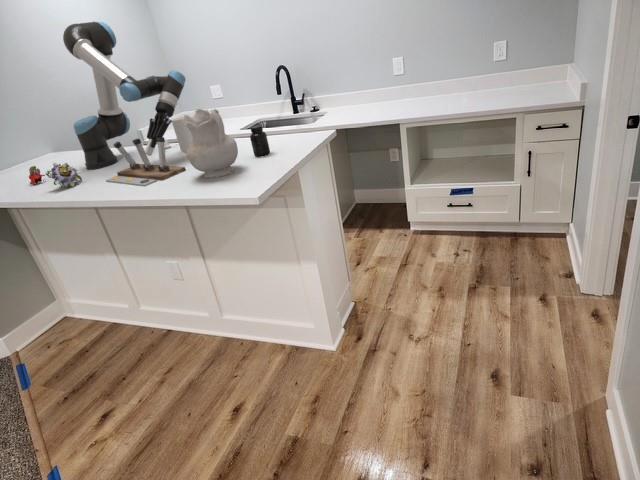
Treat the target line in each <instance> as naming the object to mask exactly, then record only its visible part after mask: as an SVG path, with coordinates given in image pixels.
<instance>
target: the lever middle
mask: <svg viewBox="0 0 640 480" xmlns="http://www.w3.org/2000/svg"><path fill="white" fill-rule="evenodd" d="M132 143H133V145H135V148H136V150H137V152H138V154H139V156H140V158H141V161H142V162H143V163H142V164H144V165H145V168H146V169H149V167H148V166H149V165H152V163H151V162H150V160H149V157H148V155H147V154H146V153H145V149H144V147H143V144H142V141H141V139H140V138H135V139H132Z"/></svg>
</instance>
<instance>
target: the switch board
mask: <svg viewBox="0 0 640 480" xmlns="http://www.w3.org/2000/svg"><path fill="white" fill-rule="evenodd" d="M128 164H129V163H128ZM134 166H135V168H132V167H131V165H130V164H129V167H127V168H125V169H123V170H120V171H117V172H116V174H117V175H116V176H125V177H134V178H144V179H154V180H157V181H164V180H168V179H169V178H171V177H173V176H176V175H178V174H180V173H183V172H185V171H186V167H185V166H176V165H167V164H166V166H164V167H163V168H164V170H160V164H152V163H151V165H149V166H148V167H149V169H146V168H145V165H144V163H136V164H135V165H134Z"/></svg>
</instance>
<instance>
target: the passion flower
mask: <svg viewBox="0 0 640 480" xmlns="http://www.w3.org/2000/svg"><path fill="white" fill-rule="evenodd" d="M80 174H81V170H80V169H79V170H78V169H76V166H71V165H69V163H68V162H65V163H63V164H61V163H59V164H58V163H57V162H53V167H52V168H51V170H50V169H49V170H46V172H45V176H47V178H49V179H50V178H51V179H53V180H54V181H53V185H55V186H56V185H60V186H61V187H64V188H68V187H70V188H74V187H75V182H74V181H76V182H80V181H81V182H82V177H81V176H80Z"/></svg>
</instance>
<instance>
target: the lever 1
mask: <svg viewBox="0 0 640 480" xmlns="http://www.w3.org/2000/svg"><path fill="white" fill-rule="evenodd" d="M113 147H114V148H115V149H117V151H119V153H120V154H121V155H122V157H123V158H124V159H125V160H126V162H128V164H130V165H131V167H132V168H135V166H134V165H135V164H137V162H136V161H135V160H134V159H133V157H132V156H131V155H130V154H129V152H128V151H127V150H126V149H125V147H124V146H123V144H122V143H121V141H116V142H115V143H113Z"/></svg>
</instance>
